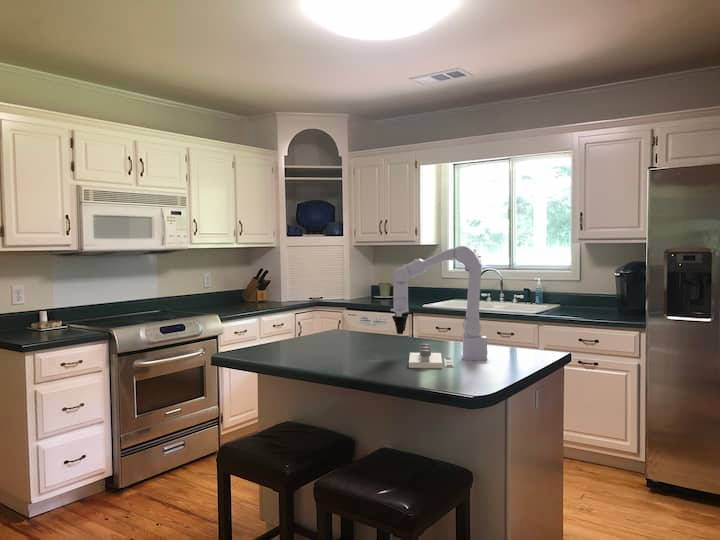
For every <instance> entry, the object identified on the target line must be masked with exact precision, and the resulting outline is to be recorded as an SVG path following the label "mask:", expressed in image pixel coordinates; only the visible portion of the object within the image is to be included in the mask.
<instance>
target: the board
mask: <svg viewBox="0 0 720 540" xmlns="http://www.w3.org/2000/svg"><path fill="white" fill-rule="evenodd" d="M408 368H409V369H411V368H412V369H443V359H442V353H441V352H431V356H429V362H422V356H420V352H409V359H408Z"/></svg>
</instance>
